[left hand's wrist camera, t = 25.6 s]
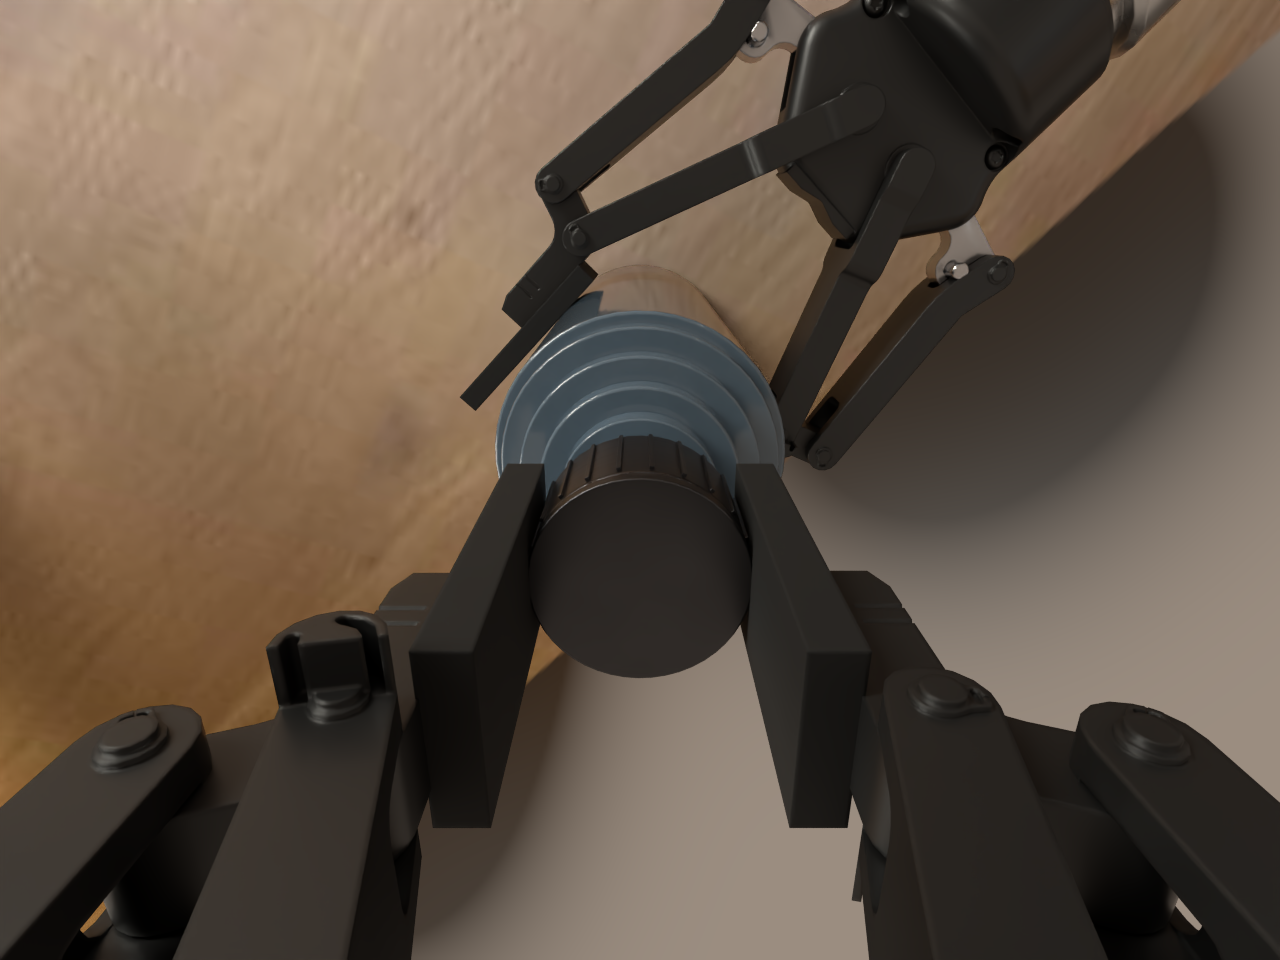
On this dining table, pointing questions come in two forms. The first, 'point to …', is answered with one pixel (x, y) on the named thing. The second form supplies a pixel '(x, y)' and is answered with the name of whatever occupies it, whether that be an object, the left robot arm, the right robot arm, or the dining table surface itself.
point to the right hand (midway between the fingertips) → (557, 465)
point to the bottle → (640, 380)
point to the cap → (640, 559)
